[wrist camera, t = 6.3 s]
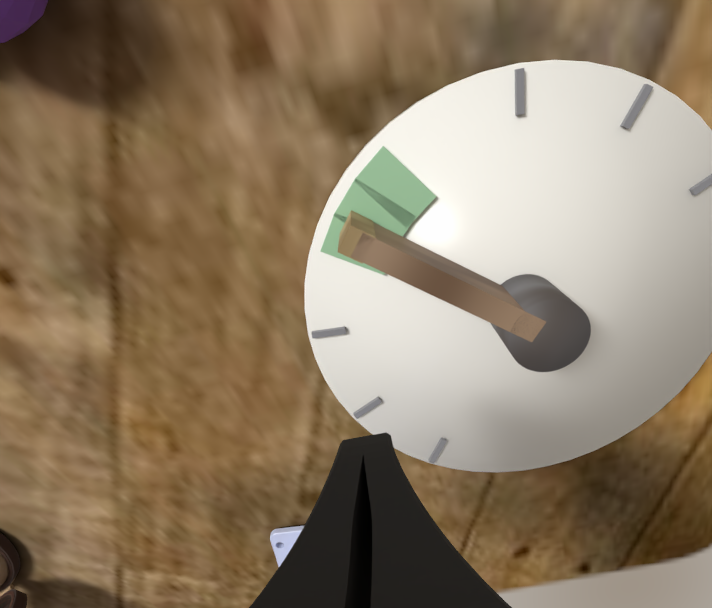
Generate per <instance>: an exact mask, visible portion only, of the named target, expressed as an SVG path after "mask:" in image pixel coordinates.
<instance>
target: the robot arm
mask: <svg viewBox="0 0 712 608" xmlns="http://www.w3.org/2000/svg"><path fill="white" fill-rule="evenodd" d="M270 541H271V544H272V547H273V550H274V553H275V556H276V560H277V563H278V566H279V568H278V570H277V571H276V572H275V574H274V575H273V577H272V578H271V580H270V581H269V582H268V584H267V585H266V587H265V588H264V589H263V591H262V592H261V593H260V595H259V596H258V597H257V599H256V600H255V601H254V602H253V604H252V605H251V606H250V607H249V608H512V607H511V606H509V605H508V604H507V603H506V602H505V601H504V600H503V599H502V598H501V597H500V596H499V595H498V594H497V593H496V592H495V591H494V590H493V589H492V588H491V587H490V586H489V585H488V584H487V583H486V582H485V581H484V580H483V579H482V578H481V577H480V576H479V575H478V573H477V572H476V571H475V570H474V569H473V568H472V567H471V566H470V565H469V564H468V563H467V561H466V560H465V559H464V558H463V557H462V556H461V555H460V554H459V553H458V551H457V550H456V549H455V548H454V546H453V545H452V544H451V543H450V542H449V540H448V539H447V538H446V537H445V535H444V534H443V533H442V531H441V530H440V529H439V527H438V526H437V525H436V523H435V522H434V521H433V519H432V518H431V516H430V515H429V513H428V512H427V510H426V509H425V507H424V506H423V504H422V503H421V501H420V500H419V498H418V496H417V495H416V493H415V492H414V490H413V488H412V486H411V484H410V483H409V481H408V479H407V477H406V475H405V474H404V472H403V470H402V468H401V466H400V463H399V461H398V459H397V456H396V454H395V451H394V447H393V443H392V439H391V435H389V434H388V433H380V434H375V435H369V436H364V437H358V438H353V439H348V440H343V441H342V442H341V444H340V446H339V449H338V452H337V455H336V458H335V461H334V463H333V466H332V468H331V471H330V473H329V476H328V478H327V481H326V483H325V485H324V487H323V489H322V492H321V494H320V496H319V498H318V500H317V502H316V505H315V507H314V508H313V510H312V512H311V514H310V516H309V518H308V520H307V522H306V524H305V525H304V526H296V527H287V528H279V529H274V530H273V531H272V532H271V536H270ZM279 542H281V543H279Z"/></svg>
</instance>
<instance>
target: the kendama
mask: <svg viewBox="0 0 712 608" xmlns="http://www.w3.org/2000/svg"><path fill="white" fill-rule="evenodd" d="M47 2H48V0H0V43H4V42H7V41H9V40H10V39H12V38H14V37H16V36H18V35H20V34H22V33H23V32H25V31H26V30H27V29H28V28H29V27H30V26H31V25H33V24H34V23H35V22H36V21H37V20H38V19H39V18H41V17H42V16H43V13H44V11H45V8H46V5H47Z"/></svg>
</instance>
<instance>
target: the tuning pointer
mask: <svg viewBox="0 0 712 608" xmlns="http://www.w3.org/2000/svg"><path fill="white" fill-rule="evenodd" d="M338 253H340V254H343V255H345V256H347V257H349V258H351V259H353V260H355V261H357V262H360V263H365V264H367V265H369V266H371V267H373V268H375V269H377V270H380V271H382V272H384V273H386V274H388V275H390V276H392V277H394V278H397V279H399V280H401V281H403V282H405V283H407V284H409V285H411V286H413V287H416V288H418V289H420V290H422V291H424V292H426V293H428V294H430V295H433V296H435V297H437V298H439V299H441V300H443V301H445V302H447V303H449V304H452V305H454V306H456V307H458V308H460V309H462V310H464V311H466V312H469V313H471V314H473V315H475V316H477V317H479V318H481V319H483V320H486V321H488V322H490V323H491V325H492V326H493V328H494V329H495V331H496V332H497V334H498V335H499V337H500V338H501V340H502V341H503V343H504V344H505V346H506V347H507V349H508V350H509V352H510V353H511V355H512V356H513V358H514V359H515V361H516V362H517V363H518V364H520V365H521V366H522V367H524V368H526V369H528V370H531V371H535V372H551V371H555V370H559V369H561V368H564V367H566V366H567V365H569V364H571V363H572V362H574V361H575V360H576V359H577V358H578V357H579V356H580V355H581V354H582V353H583V351H584V350H585V348H586V346H587V344H588V342H589V339H590V335H591V325H590V321H589V318H588V316H587V315H586V313H585V312H584V311H583V309H581V308H580V307H579V306H578V305H577V304H575V303H574V302H573V301H572V300H571V299H570V298H568V297H567V296H566V295H565V294H564V293H562V292H561V291H560V290H559V289H558V288H556V287H555V286H554V285H553V284H552V283H550V282H549V281H548V280H547V279H545V278H543V277H541V276H538V275H533V274H523V275H518V276H515V277H512V278H510V279H508V280H506V281H505V282H503V283H502V284H501V285H500V284H498V283H496V282H494V281H492V280H490V279H487V278H485V277H483V276H481V275H479V274H477V273H475V272H473V271H471V270H469V269H467V268H465V267H463V266H461V265H459V264H457V263H455V262H453V261H451V260H449V259H447V258H445V257H443V256H441V255H439V254H437V253H435V252H433V251H431V250H429V249H427V248H425V247H422V246H420V245H418V244H416V243H414V242H412V241H410V240H408V239H406V238H404V237H402V236H400V235H398V234H396V233H394V232H392V231H390V230H388V229H386V228H384V227H382V226H380V225H378V224H376V223H374V222H373V221H372V220H370V219H368V218H366V217H364V216H362V215H360V214H358V213H356V212H354V211H352V210H351V211H350V213H349V215H348V217H347V219H346V221H345V224H344V226H343V228H342V230H341V232H340V235H339V244H338Z"/></svg>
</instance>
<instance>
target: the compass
mask: <svg viewBox="0 0 712 608" xmlns="http://www.w3.org/2000/svg"><path fill="white" fill-rule="evenodd" d="M19 568H20V559H19V555H18V552H17V551H16V549H15V547H14V545H13V544H12V543H11V542H10V541H9V540H8V539H7V538H6V537H5V536H4V535H3V534H2V533H0V592H1V591H3V592H1V593H0V608H26V605H27V595H26V594H25V593H22V592H20V591H18V590H15V589H14V585H12V582H13V581H14V580H15V578H16V576H17V574H18V572H19Z"/></svg>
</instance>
